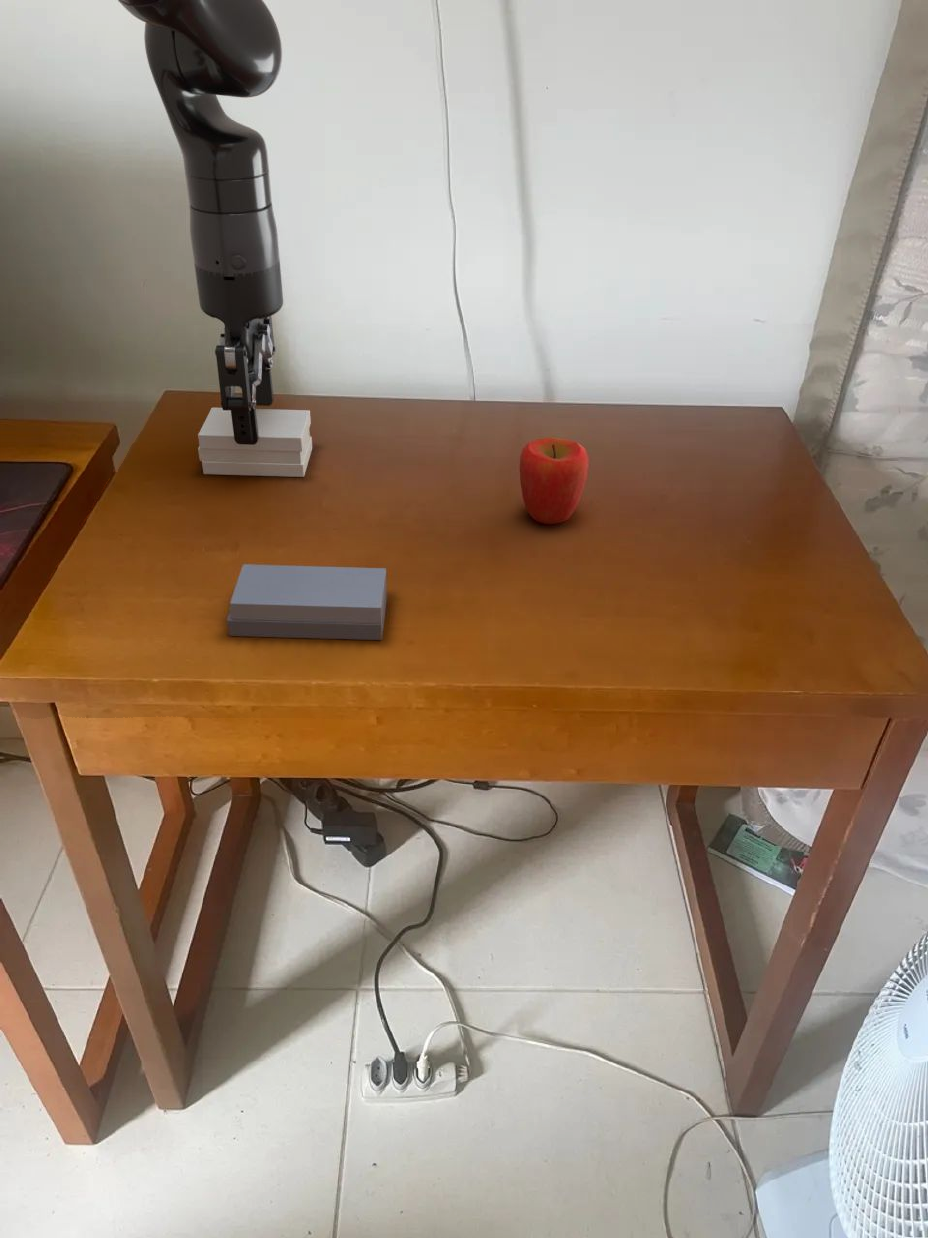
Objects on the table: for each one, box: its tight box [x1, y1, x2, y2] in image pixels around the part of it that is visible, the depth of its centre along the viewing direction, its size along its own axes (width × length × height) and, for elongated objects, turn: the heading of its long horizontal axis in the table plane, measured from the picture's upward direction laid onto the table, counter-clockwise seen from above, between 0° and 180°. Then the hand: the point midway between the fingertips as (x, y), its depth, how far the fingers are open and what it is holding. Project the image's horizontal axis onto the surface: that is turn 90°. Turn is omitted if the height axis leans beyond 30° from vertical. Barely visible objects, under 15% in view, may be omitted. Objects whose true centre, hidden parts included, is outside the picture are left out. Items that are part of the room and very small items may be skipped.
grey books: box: [226, 563, 388, 641], centre depth 78 cm, size 12×6×3 cm, turn 89°
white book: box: [197, 407, 312, 452], centre depth 98 cm, size 10×6×2 cm, turn 89°
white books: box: [197, 430, 313, 478], centre depth 99 cm, size 10×6×3 cm, turn 89°
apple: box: [519, 437, 590, 525], centre depth 91 cm, size 6×6×8 cm
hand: (255, 422), depth 97 cm, fingers open, 8 cm apart
